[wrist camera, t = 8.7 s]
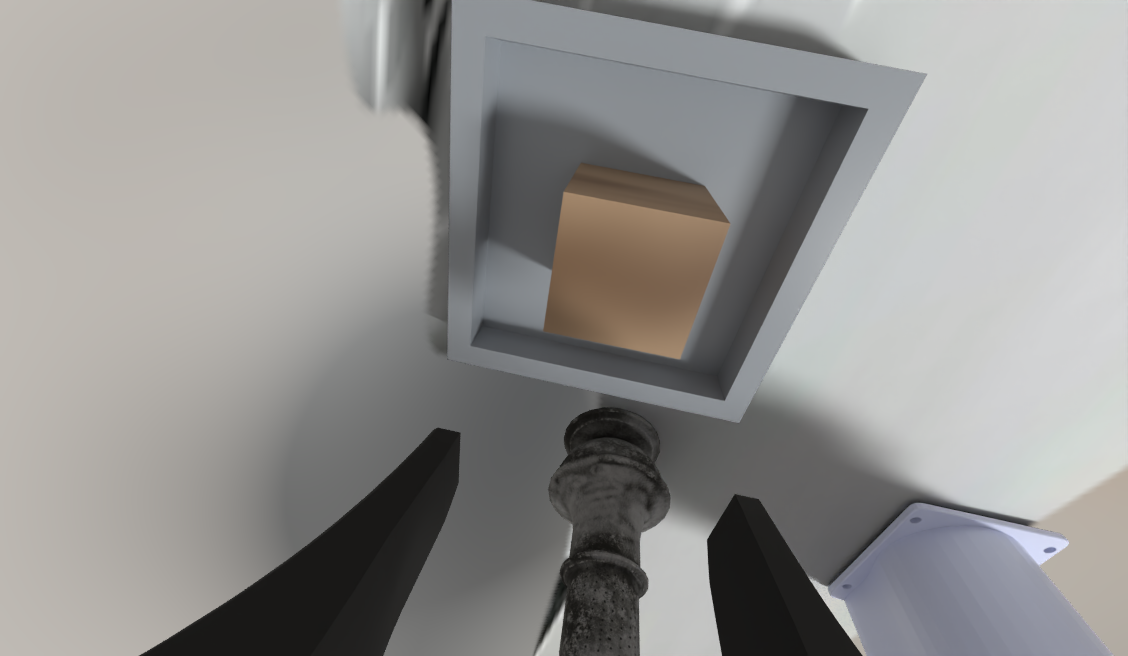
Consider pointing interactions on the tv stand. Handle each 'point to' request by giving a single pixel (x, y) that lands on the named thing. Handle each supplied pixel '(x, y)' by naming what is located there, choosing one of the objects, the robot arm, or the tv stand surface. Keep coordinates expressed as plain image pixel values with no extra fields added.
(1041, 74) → the tv stand surface
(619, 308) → the block
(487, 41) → the tray
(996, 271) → the tv stand surface
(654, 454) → the dark grey turned piece
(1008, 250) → the tv stand surface
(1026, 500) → the tv stand surface
